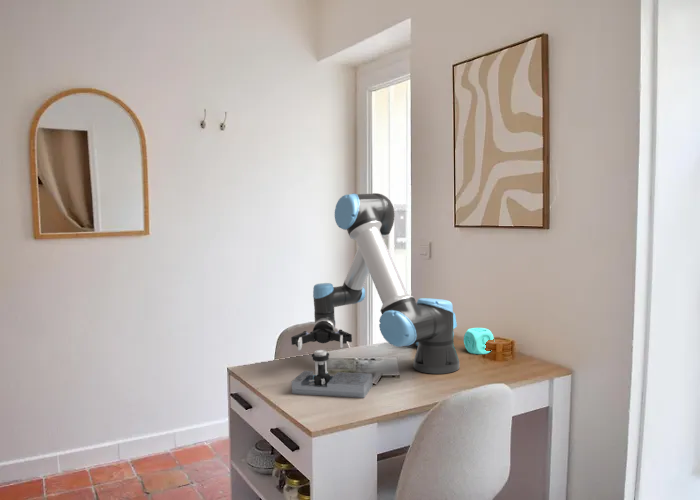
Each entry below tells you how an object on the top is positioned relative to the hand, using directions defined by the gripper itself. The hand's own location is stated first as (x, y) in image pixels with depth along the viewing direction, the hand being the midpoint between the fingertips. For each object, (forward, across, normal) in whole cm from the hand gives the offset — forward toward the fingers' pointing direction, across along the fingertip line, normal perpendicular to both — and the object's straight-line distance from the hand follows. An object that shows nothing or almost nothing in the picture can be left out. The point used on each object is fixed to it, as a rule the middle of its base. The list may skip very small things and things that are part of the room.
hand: (320, 345), depth 179 cm
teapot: (-34, -41, -11) cm, 55 cm away
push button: (+11, 0, -10) cm, 14 cm away
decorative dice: (-25, -56, -11) cm, 62 cm away
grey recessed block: (+12, -4, -11) cm, 17 cm away
